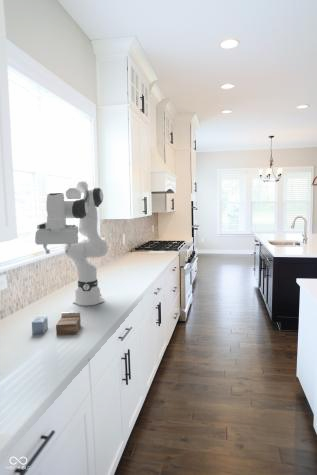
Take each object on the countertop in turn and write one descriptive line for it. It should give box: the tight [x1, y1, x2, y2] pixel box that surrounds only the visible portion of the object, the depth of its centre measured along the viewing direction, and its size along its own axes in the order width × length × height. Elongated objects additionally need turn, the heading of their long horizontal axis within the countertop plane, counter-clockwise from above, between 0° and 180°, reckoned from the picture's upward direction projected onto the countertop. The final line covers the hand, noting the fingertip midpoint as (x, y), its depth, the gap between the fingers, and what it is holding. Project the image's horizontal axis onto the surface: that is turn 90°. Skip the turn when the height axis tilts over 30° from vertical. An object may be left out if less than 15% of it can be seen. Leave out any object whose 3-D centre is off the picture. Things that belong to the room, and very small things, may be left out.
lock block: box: [31, 316, 49, 336], centre depth 159 cm, size 8×5×6 cm, turn 4°
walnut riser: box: [55, 311, 82, 336], centre depth 160 cm, size 12×9×7 cm
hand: (57, 253), depth 163 cm, fingers open, 8 cm apart
